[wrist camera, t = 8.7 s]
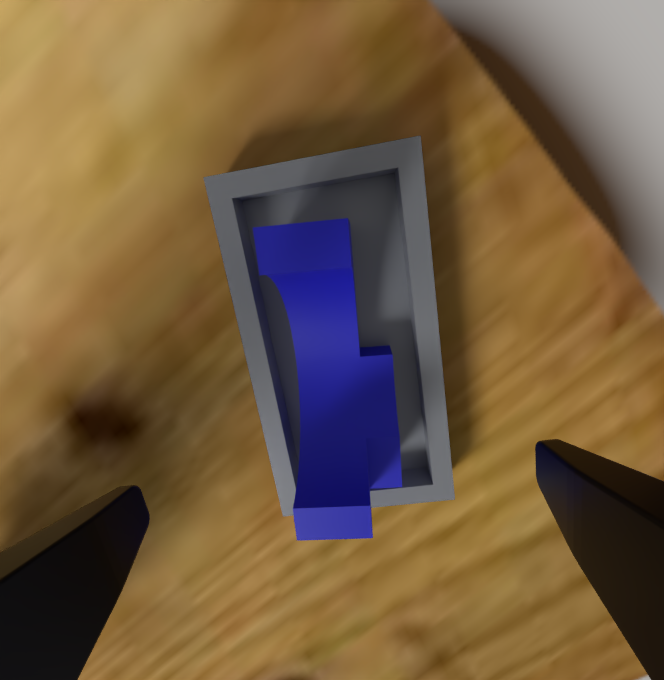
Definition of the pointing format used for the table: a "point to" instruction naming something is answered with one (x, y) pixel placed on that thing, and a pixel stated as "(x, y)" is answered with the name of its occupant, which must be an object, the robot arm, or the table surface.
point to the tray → (371, 298)
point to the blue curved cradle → (333, 381)
